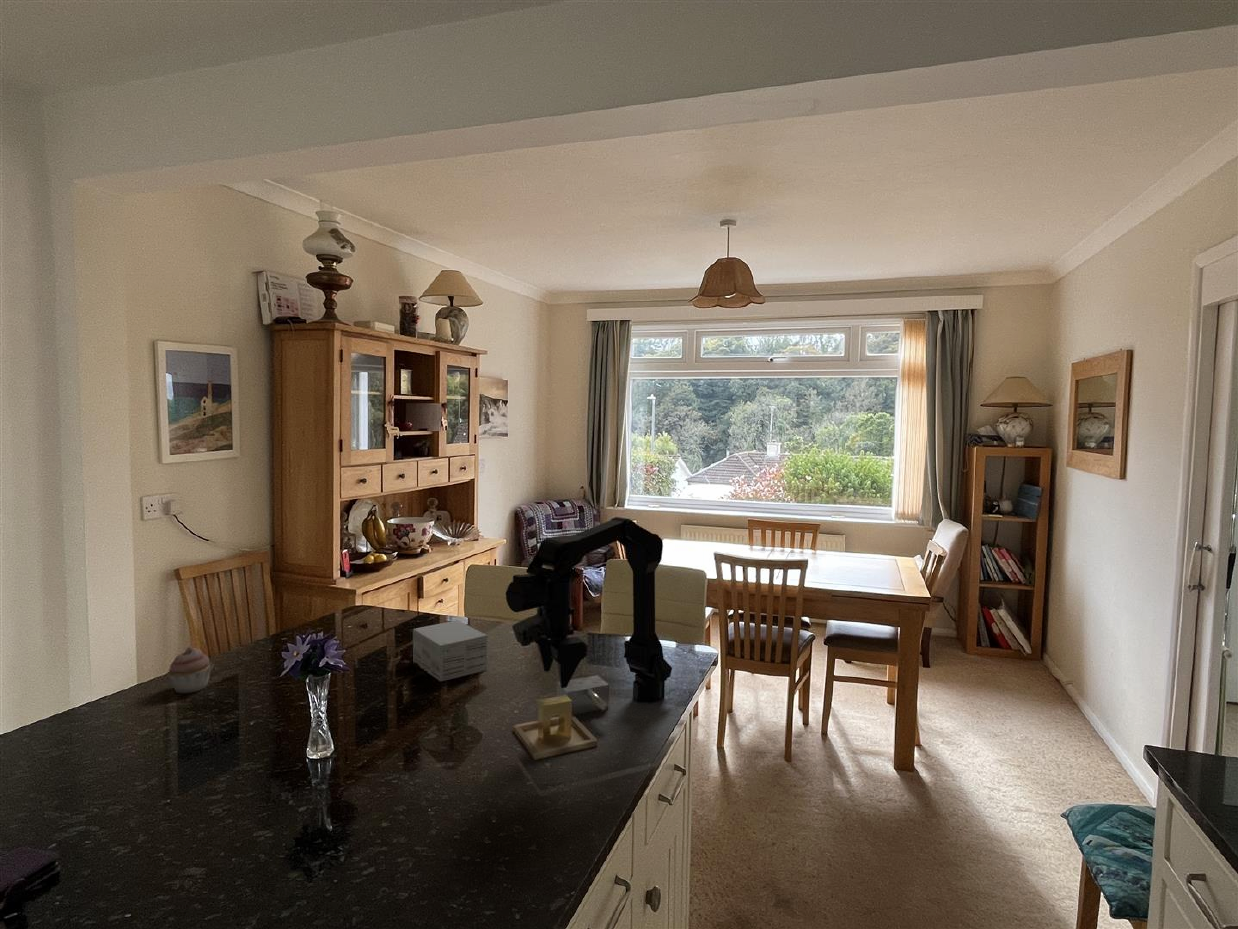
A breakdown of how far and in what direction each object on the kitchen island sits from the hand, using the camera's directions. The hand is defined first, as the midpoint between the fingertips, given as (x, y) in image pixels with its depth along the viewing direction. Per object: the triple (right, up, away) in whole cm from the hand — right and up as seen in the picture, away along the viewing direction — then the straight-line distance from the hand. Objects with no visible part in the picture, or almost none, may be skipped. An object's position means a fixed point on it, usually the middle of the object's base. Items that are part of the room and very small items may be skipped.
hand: (555, 679), depth 133 cm
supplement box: (-31, -10, +40) cm, 52 cm away
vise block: (+6, -12, +12) cm, 18 cm away
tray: (0, -13, +1) cm, 13 cm away
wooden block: (0, -12, +1) cm, 12 cm away
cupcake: (-87, -10, +23) cm, 91 cm away
